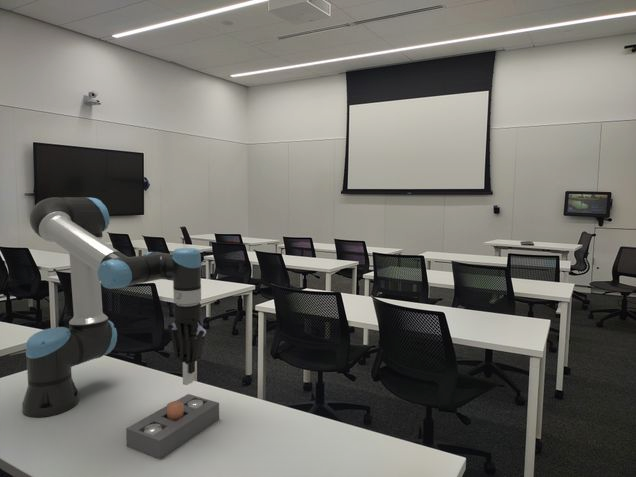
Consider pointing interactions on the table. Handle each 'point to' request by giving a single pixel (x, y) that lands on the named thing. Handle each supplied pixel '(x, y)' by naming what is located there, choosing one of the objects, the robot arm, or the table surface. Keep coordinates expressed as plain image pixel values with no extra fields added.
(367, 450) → the table surface
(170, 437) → the button console
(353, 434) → the table surface
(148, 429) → the steel button near
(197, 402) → the steel button far
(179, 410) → the terracotta button
